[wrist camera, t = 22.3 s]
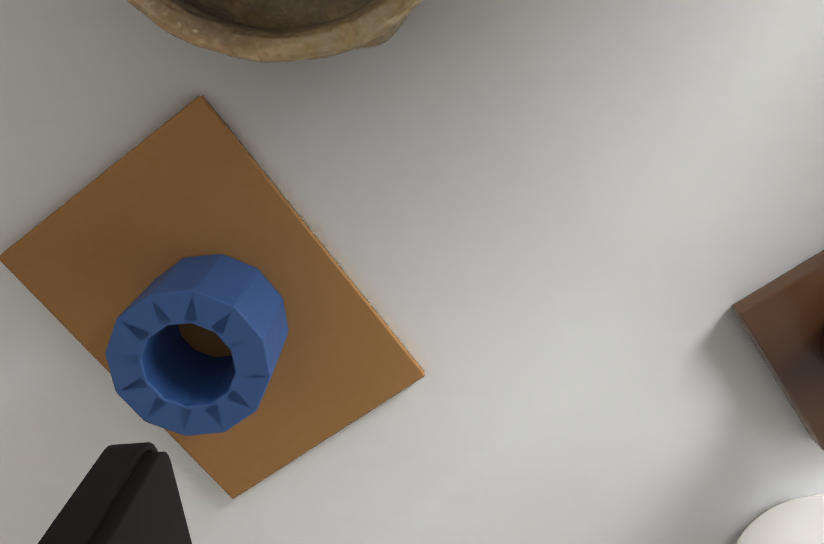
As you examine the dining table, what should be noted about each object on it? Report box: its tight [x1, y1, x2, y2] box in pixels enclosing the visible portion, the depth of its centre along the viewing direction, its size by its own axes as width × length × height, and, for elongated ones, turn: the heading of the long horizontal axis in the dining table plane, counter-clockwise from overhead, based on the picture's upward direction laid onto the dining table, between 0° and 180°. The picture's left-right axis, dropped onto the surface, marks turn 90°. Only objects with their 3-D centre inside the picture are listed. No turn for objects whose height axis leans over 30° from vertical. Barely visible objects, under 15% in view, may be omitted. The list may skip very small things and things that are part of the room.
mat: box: [0, 95, 425, 499], centre depth 32 cm, size 16×12×1 cm
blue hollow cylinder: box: [105, 254, 289, 436], centre depth 30 cm, size 6×6×4 cm
